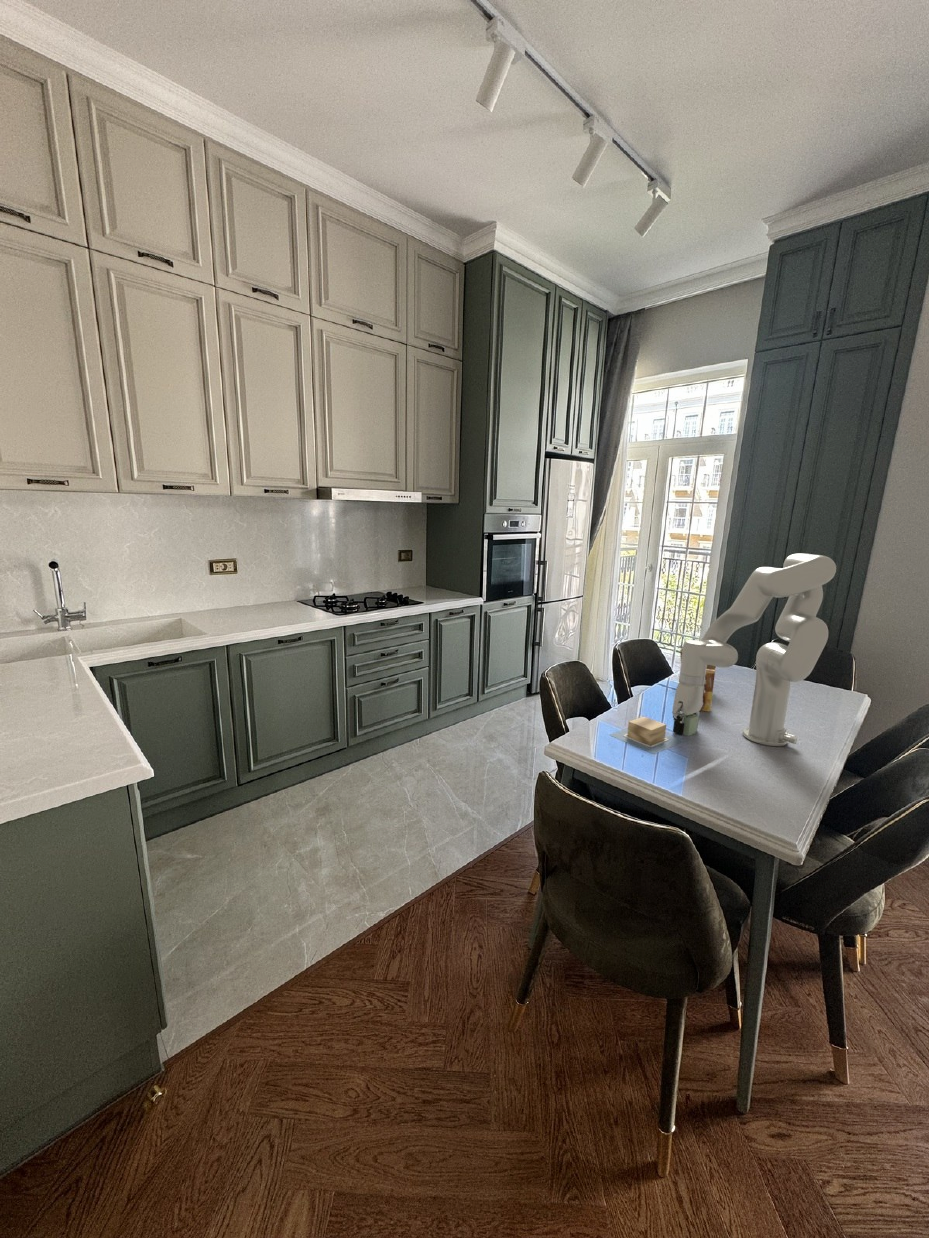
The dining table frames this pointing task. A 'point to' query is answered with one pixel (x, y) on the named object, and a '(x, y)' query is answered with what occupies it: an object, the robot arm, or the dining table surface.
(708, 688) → the candy box
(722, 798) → the dining table surface
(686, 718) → the sage brick
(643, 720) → the oak block
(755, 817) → the dining table surface
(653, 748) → the board
